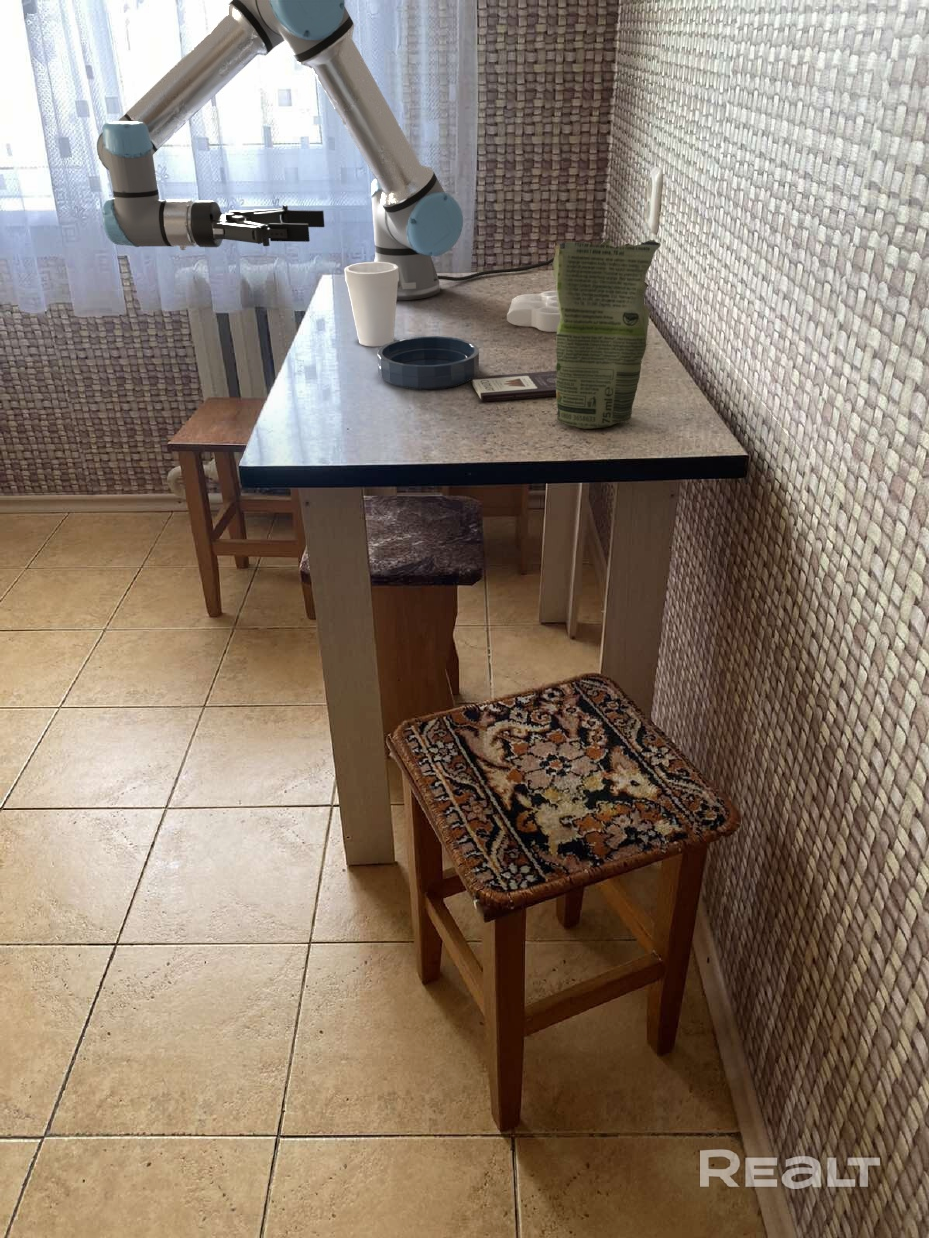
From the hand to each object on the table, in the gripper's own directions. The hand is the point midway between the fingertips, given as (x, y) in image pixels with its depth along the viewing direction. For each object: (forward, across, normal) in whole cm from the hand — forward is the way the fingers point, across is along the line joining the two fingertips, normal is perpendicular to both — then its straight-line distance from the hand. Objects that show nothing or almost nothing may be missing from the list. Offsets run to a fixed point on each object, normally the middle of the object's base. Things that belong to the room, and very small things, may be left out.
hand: (316, 225), depth 163 cm
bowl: (+21, +19, -20) cm, 34 cm away
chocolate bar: (+38, +26, -20) cm, 50 cm away
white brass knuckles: (+41, -15, -19) cm, 48 cm away
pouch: (+47, +39, -20) cm, 64 cm away
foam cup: (+10, 0, -20) cm, 22 cm away
